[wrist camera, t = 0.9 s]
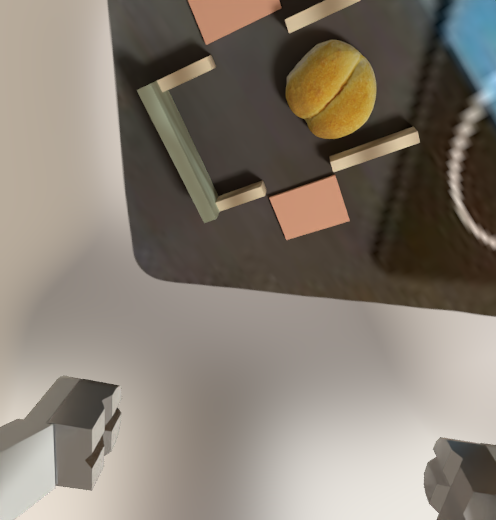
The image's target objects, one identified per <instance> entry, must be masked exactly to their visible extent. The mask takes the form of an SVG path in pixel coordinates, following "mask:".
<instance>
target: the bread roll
mask: <svg viewBox="0 0 496 520" xmlns="http://www.w3.org/2000/svg"><path fill="white" fill-rule="evenodd" d="M375 99H376V80H375V75H374V72H373V69H372V67H371V65H370V63H369V62H368V60H367V59H366V58H365V57H364V56H363V55H361V53H360V52H359V51H358V50H356V49H355V48H354V47H353V46H351V45H349V44H347V43H345V42H342V41H339V40H329V41H326V42H322V43H319V44H317V45H315V47H313V48H312V49H311V50H310V51H309V52H308V53H307V54H306V55H305V56H304V57H303V58H302V59H301V61H299V62H298V64H296V66H295V68H294V69H293V70H292V71H291V72H290V73H289V75H288V76H287V85H286V100H287V102H288V105H289V107H290V109H291V110H292V112H293V113H294V114H295V115H297V116H298V117H300V118H303V119H304V120H305V121H306V122H307V125H308V127H309V129H310V131H311V132H312V133H313V134H314V135H316V136H318V137H320V138H326V139H335V138H341V137H343V136H346V135H348V134H351V133H353V132H354V131H356V130H357V129H359V128H360V127H361V126H362V125H363V124H364V123H365V122H366V121H367V119H368V118H369V116H370V114H371V112H372V110H373V107H374V103H375Z"/></svg>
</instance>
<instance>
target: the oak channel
mask: <svg viewBox="0 0 496 520" xmlns="http://www.w3.org/2000/svg"><path fill="white" fill-rule="evenodd" d="M358 1H360V0H325V1H323V2H321V3H319V4H316V5H314V6H312V7H310V8H308V9H306V10H304V11H302V12H300V13H298V14H296V15H293V16H291V17H289V18H287V19H285V23H286V26H287V29H288V32H289V33H291V32H294V31H296V30H298V29H300V28H302V27H304V26H307V25H309V24H311V23H313V22H315V21H317V20H319V19H322V18H324V17H326V16H328V15H330V14H332V13H334V12H337V11H339V10H341V9H343V8H345V7H347V6H350V5H352V4H354V3H356V2H358ZM215 67H216V65H215V63H214V60H213V58H212V55H210V56H208V57H205V58H203V59H201V60H199V61H197V62H195V63H193V64H191V65H189V66H187V67H185V68H182V69H180V70H178V71H176V72H174V73H172V74H170V75H168V76H166V77H164V78H162V79H159V80H157V81H155V82H153V83H151V84H149V85H147V86H145V87H142V88H140V89H138V90H137V92H138V94H139V96H140V98H141V100H142V102H143V104H144V106H145V108H146V110H147V112H148V114H149V115H150V117H151V119H152V121H153V123H154V125H155V127H156V129H157V131H158V133H159V135H160V137H161V139H162V141H163V143H164V145H165V147H166V149H167V151H168V153H169V155H170V157H171V159H172V161H173V163H174V165H175V167H176V168H177V170H178V172H179V174H180V176H181V178H182V180H183V182H184V184H185V186H186V188H187V190H188V192H189V194H190V196H191V198H192V200H193V202H194V204H195V206H196V208H197V210H198V212H199V214H200V216H201V218H202V220H203V221H204V223H206V222H209V221H212V220H214V219H217V217H218V214H219V212H220V211H223V210H225V209H228V208H231V207H234V206H237V205H240V204H243V203H246V202H249V201H252V200H255V199H257V198H260V197H263V196H265V194H266V187H265V185H264V182H263V180H262V181H259V182H257V183H254V184H251V185H248V186H245V187H243V188H240V189H237V190H234V191H231V192H229V193H226V194H223V195H220V196H218V194H217V192H216V190H215V187H214V185H213V183H212V181H211V179H210V177H209V175H208V173H207V171H206V168H205V166H204V164H203V162H202V160H201V158H200V156H199V154H198V152H197V149H196V147H195V145H194V143H193V141H192V139H191V137H190V135H189V133H188V131H187V128H186V126H185V124H184V122H183V120H182V118H181V116H180V114H179V112H178V109H177V107H176V105H175V103H174V101H173V99H172V97H171V95H170V93H169V89H171V88H173V87H175V86H177V85H180V84H182V83H184V82H186V81H188V80H190V79H193V78H195V77H197V76H199V75H201V74H203V73H205V72H208V71H210V70H212V69H214V68H215ZM417 143H420V140H419V135H418V131H417V130H416V129H415V128H414V127H411V128H408V129H405V130H402V131H399V132H397V133H394V134H391V135H388V136H385V137H383V138H380V139H377V140H374V141H371V142H369V143H366V144H363V145H360V146H357V147H355V148H352V149H349V150H346V151H343V152H341V153H338V154H335V155H332V156H329V158H330V163H331V166H332V169H333V172H336V171H339V170H342V169H345V168H348V167H350V166H353V165H356V164H359V163H362V162H365V161H368V160H371V159H374V158H377V157H379V156H382V155H385V154H388V153H391V152H394V151H397V150H400V149H403V148H406V147H409V146H411V145H414V144H417Z"/></svg>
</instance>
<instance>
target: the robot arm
mask: <svg viewBox="0 0 496 520" xmlns="http://www.w3.org/2000/svg"><path fill="white" fill-rule="evenodd" d="M121 399H122V388H121V387H120V386H119V385H114V384H107V383H103V382H97V381H92V380H86V379H79V378H73V377H68V376H62V377H60V378H58V379H57V380H56V382H55V383H54V384H53V385H52V386H51V388H50V389H49V390H48V391H47V392H46V394H45V395H44V396H43V397H42V398H41V400H40V401H39V402H38V403H37V404H36V406H35V407H34V408H33V409H32V411H31V412H30V413H29V414H28V415H27V417H26V418H25V419H24V420H23V419H16V420H14V421H12V422H10V423H8V424H6V425H4V426H2V427H0V520H15V519H16V518H17V517H19V516H20V515H21V514H23V513H24V512H25V511H26V510H28V509H29V508H30V507H32V506H33V505H34V504H35V503H37V502H38V501H39V500H41V499H42V498H43V497H44V496H46V495H47V494H48V493H49V492H50V491H52V490H53V489H55V486H63V487H70V488H78V489H85V490H92V489H93V487H94V485H95V483H96V481H97V479H98V477H99V475H100V473H101V471H102V469H103V467H104V456H105V455H106V454H108V453H109V452H111V451H112V449H113V446H114V444H115V442H116V439H117V436H118V433H119V429H120V423H121V412H120V410H119V409H118V408H117V407H118V405H119V403H120V401H121ZM433 450H434V452H435V454H436V456H437V457H436V458H434V459H432V460H431V461H430V462H428V463H427V466H426V470H425V472H424V488H425V493H426V496H427V499H428V501H429V504H430V505H431V506H432V507H433V508H434V509H435V510H436V511H437V512H438V513H439V515H438V518H437V520H496V445H491V444H483V443H480V444H479V443H474V442H468V441H461V440H455V439H448V438H441V437H440V438H439V439H438V440H437V441H436V444H435V446H434V448H433Z"/></svg>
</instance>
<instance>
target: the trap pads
mask: <svg viewBox="0 0 496 520" xmlns="http://www.w3.org/2000/svg"><path fill="white" fill-rule="evenodd" d="M188 2H189V4H190V7H191V9H192V12H193V14H194V16H195V19H196V21H197V24H198V26H199V29H200V31H201V33H202V36H203V38H204V41H205V43H206V45H207V44H209V43H211V42H213V41H215V40H217V39H219V38H221V37H224V36H226V35H228V34H230V33H232V32H234V31H236V30H238V29H240V28H242V27H244V26H246V25H248V24H250V23H252V22H254V21H256V20H258V19H260V18H262V17H265V16H267V15H269V14H271V13H273V12H275V11H277V10H279V9H281V8H282V7H281V4H280V1H279V0H188ZM269 199H270V201H271V204H272V206H273V208H274V211H275V213H276V216H277V218H278V221H279V223H280V225H281V228H282V230H283V233H284V235H285V238H286V240H288V239H292V238H295V237H298V236H301V235H305V234H308V233H311V232H315V231H318V230H321V229H325V228H328V227H331V226H334V225H338V224H341V223H344V222H348V221H350V220H349V217H348V214H347V211H346V207H345V204H344V201H343V198H342V195H341V192H340V189H339V185H338V182H337V179H336V176H335V175H332V176H329V177H326V178H323V179H320V180H317V181H314V182H311V183H308V184H305V185H302V186H300V187H297V188H294V189H291V190H288V191H285V192H282V193H279V194H276V195H273V196H270V197H269Z"/></svg>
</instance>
